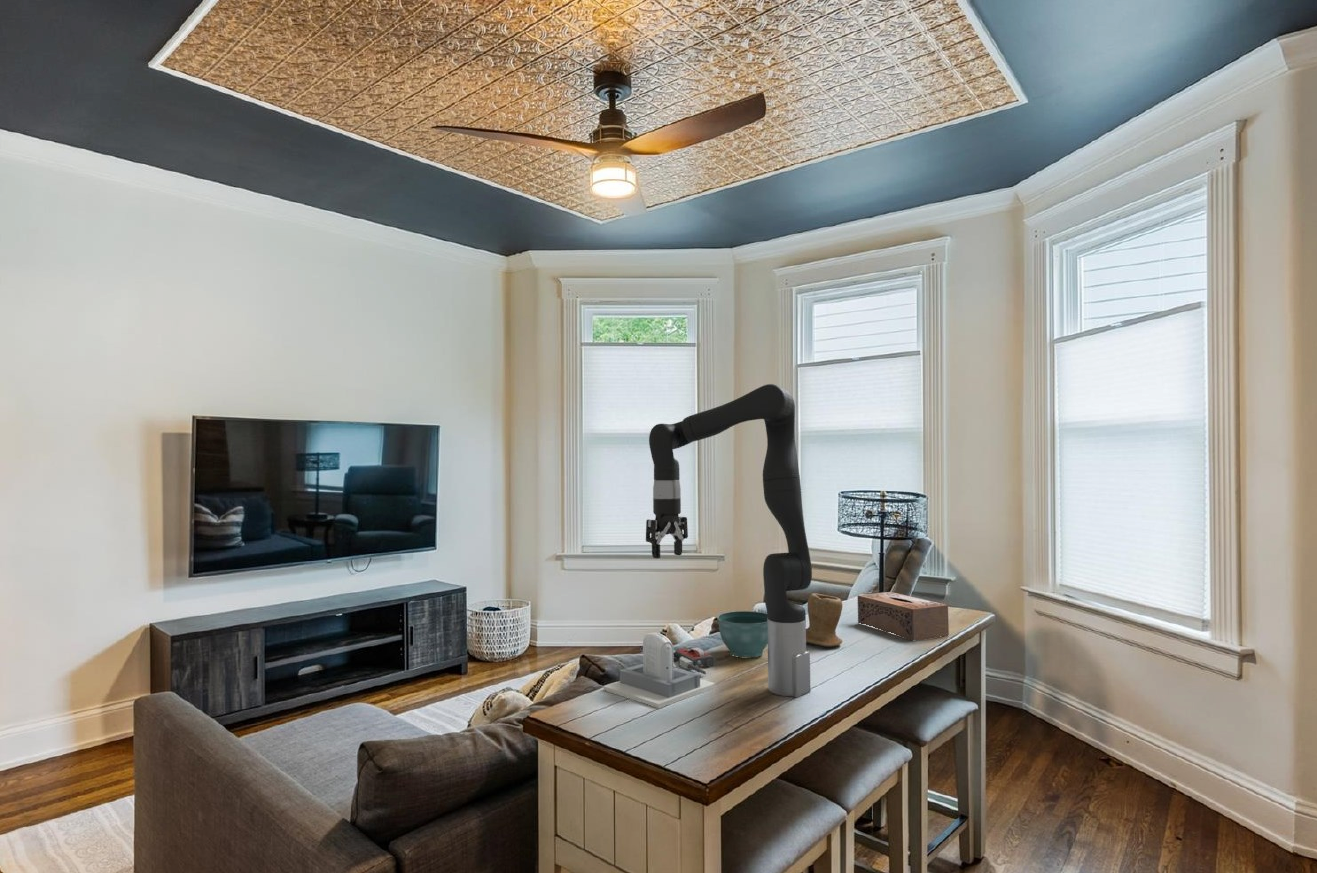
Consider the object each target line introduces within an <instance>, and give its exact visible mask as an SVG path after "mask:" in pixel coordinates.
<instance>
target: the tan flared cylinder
mask: <svg viewBox="0 0 1317 873" xmlns="http://www.w3.org/2000/svg"><path fill="white" fill-rule="evenodd" d="M842 612H843V601H842V600H841V598H839V597H837V596H831V595H826V594H822V593H821V594H820V593H814V592H813V593H811V594H810V595H809V597H808V600H807V615H808V621H809V624H808V628H807V627H806V644H811V645H814V646H815V645H816V646H821V647H822V646H823V647H838V646H840V645H841V644H842V643H843V640H842V639H841V638H840V637H839V636H837V632H836V630H837V626H838V624H839V622H840V620H841V616H842Z"/></svg>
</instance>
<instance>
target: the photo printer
mask: <svg viewBox="0 0 1317 873" xmlns="http://www.w3.org/2000/svg"><path fill="white" fill-rule="evenodd" d="M673 653H674V645H673V643H672V642H671V640H670V639H669V638H668V637H667V636H665V635H663V633H660V632H655V631H654V632H648V633H645V635H644V637H643V640H642V664H643V674H646V675H649V676H653V677H656V678H659V679H663V680H666V681H671V680H674V668H675V667H674V660H675V657H674V654H673Z"/></svg>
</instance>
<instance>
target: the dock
mask: <svg viewBox="0 0 1317 873" xmlns="http://www.w3.org/2000/svg"><path fill="white" fill-rule="evenodd" d="M714 687H715V688H716V683H714V682H712V681H708V680H704V679H701V673H698V672H693V671H690V670H686V669H682V668H678V667H674V680H671V681H666V680H663V679H659V678H656V677H653V676H649V675H646V674H643V663H640V664H637V665H633V666H630V667H626V668H624V669H620V670H619V680H618V681H615V682H611V683H608V684H605V685H603V688H602V689H603V691H605V690H606V692H608V693H610V694H615V695H617V694H619V695H618V696H620V695H622V696H621V697H623V696H625V697H624V698H626V697H628V698H627V699H629V698H630V699H629V700H632V699H633V700H632V701H635V700H636V702H638V703H641V702H643V703H642V704H644V703H645V704H644V705H647V704H648V705H647V706H650V705H651V707H653V708H657V709H661V708H664V707H667V706H669V705H672V704H674V702H675V703H677V702H680V701H682V700H685V699H688V698H691V697H694V696H696V695H699V694H702V693H704V692H708V691H710V690H713V689H715V688H714ZM712 688H713V689H712ZM666 705H667V706H666Z"/></svg>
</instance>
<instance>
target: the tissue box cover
mask: <svg viewBox="0 0 1317 873" xmlns="http://www.w3.org/2000/svg"><path fill="white" fill-rule="evenodd" d="M858 623H861V624H866V625H869V626H873V627H875V628H878V629H881V630H883V631H886V632H891V633H894V634H896V635H899V636H901V637H900V638H902V637H904V638H903V639H905V638H906V640H908V639H909V640H908V641H912V640H919V641H925V639H926V640H931V639H930V638H933V639H936V638H935V637H939V638H941V637H940V636H946V637H949V636H948V635H950V632H949V631H950V630H949V629H950V628H949V627H950V626H949V605H948V604H945V603H941V602H940V603H939V602H935V601H931V600H927V599H924V598H920V597H914V596H911V595H905V594H902V593H897V592H893V591H888V592H887V591H886V592H877V593H876V592H875V593H868V594H866V593H865V594H858V595H857V624H858ZM886 632H885V633H886ZM899 636H898V637H899Z"/></svg>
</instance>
